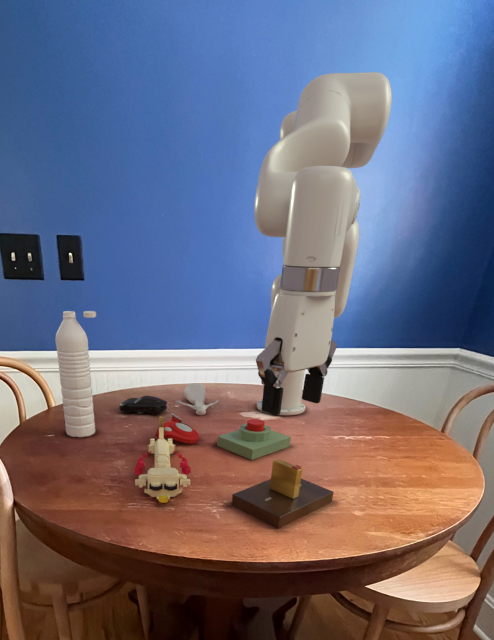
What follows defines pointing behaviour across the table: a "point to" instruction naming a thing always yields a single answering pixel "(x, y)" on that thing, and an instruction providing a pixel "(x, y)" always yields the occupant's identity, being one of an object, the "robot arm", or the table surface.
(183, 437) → the tracker holder
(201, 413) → the woman figurine
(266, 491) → the lock plate
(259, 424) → the button
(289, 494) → the lock knob
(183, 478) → the blocky toy figure
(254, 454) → the green button base
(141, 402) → the toy car
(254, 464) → the table surface
